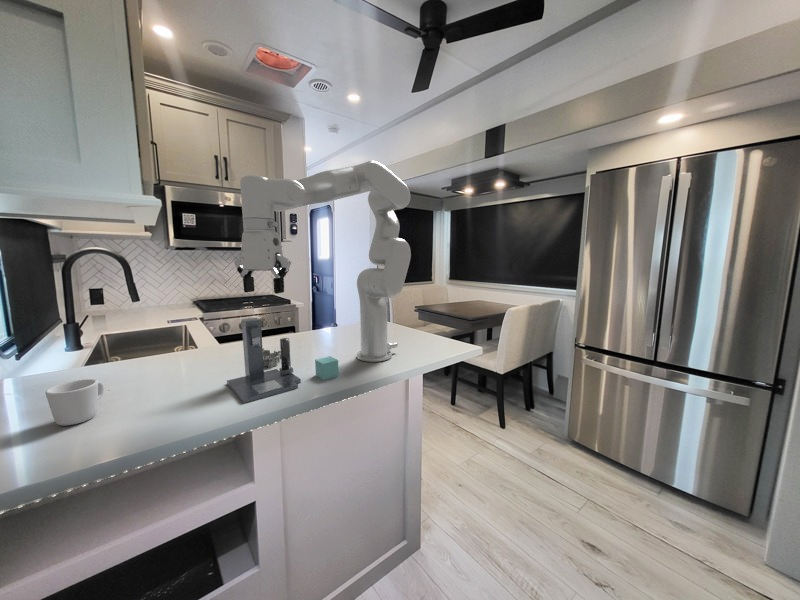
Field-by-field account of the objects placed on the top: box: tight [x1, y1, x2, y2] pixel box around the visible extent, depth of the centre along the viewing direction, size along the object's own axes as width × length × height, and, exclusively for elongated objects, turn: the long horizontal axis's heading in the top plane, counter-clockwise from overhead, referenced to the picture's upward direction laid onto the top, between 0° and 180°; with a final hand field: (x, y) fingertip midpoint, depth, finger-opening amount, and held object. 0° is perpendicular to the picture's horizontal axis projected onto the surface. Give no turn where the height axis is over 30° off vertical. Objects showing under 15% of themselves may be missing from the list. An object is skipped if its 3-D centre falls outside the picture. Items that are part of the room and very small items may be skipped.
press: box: [226, 317, 302, 404], centre depth 87 cm, size 16×16×18 cm
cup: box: [45, 378, 104, 427], centre depth 71 cm, size 11×8×8 cm
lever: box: [278, 337, 294, 375], centre depth 94 cm, size 3×3×10 cm
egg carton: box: [262, 347, 281, 368], centre depth 107 cm, size 11×8×4 cm
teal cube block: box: [314, 356, 340, 381], centre depth 95 cm, size 5×5×5 cm
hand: (264, 292), depth 84 cm, fingers open, 9 cm apart
